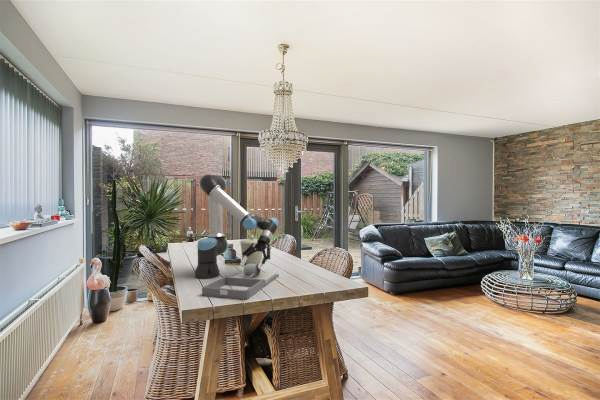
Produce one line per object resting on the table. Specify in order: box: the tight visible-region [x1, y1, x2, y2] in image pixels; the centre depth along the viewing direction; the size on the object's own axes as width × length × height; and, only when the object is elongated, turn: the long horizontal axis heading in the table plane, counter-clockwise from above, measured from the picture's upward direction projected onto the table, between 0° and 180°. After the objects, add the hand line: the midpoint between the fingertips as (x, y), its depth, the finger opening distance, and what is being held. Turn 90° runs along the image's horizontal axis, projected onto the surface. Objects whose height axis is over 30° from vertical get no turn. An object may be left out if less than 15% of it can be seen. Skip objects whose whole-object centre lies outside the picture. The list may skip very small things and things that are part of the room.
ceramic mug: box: [243, 264, 262, 278], centre depth 194 cm, size 11×8×8 cm
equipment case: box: [201, 270, 280, 300], centre depth 185 cm, size 25×47×4 cm, turn 164°
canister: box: [239, 235, 263, 265], centre depth 244 cm, size 18×18×21 cm
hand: (250, 266), depth 194 cm, fingers open, 13 cm apart
